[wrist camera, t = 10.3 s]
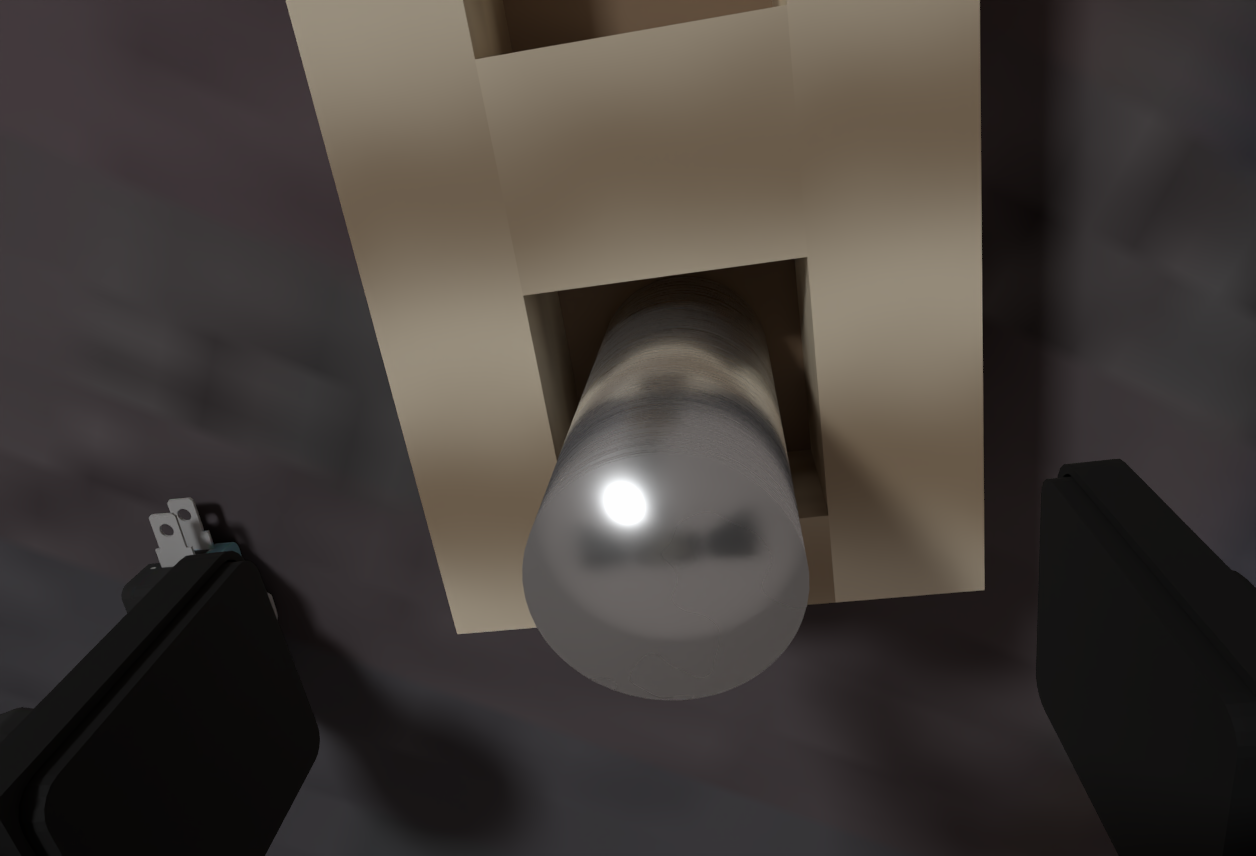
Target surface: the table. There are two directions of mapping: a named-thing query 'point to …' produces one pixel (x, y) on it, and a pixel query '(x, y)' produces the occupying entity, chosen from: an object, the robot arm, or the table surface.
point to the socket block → (670, 249)
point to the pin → (672, 505)
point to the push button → (155, 570)
